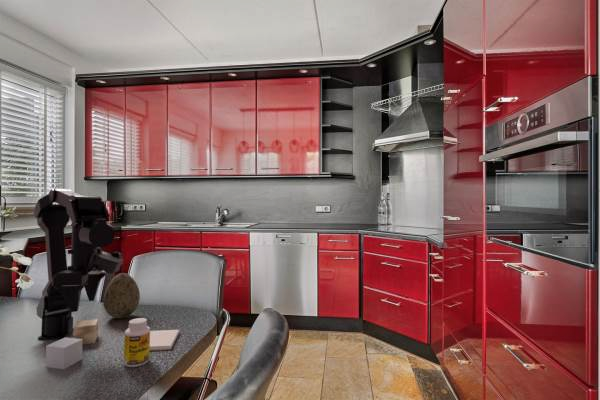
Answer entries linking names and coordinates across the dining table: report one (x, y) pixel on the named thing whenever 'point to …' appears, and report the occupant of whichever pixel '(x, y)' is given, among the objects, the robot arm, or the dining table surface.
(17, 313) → the dining table surface
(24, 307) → the dining table surface
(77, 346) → the pale grey block
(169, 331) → the cream square tile
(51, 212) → the robot arm
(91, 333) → the birch block
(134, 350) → the supplement bottle
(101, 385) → the dining table surface
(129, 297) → the decorative egg
